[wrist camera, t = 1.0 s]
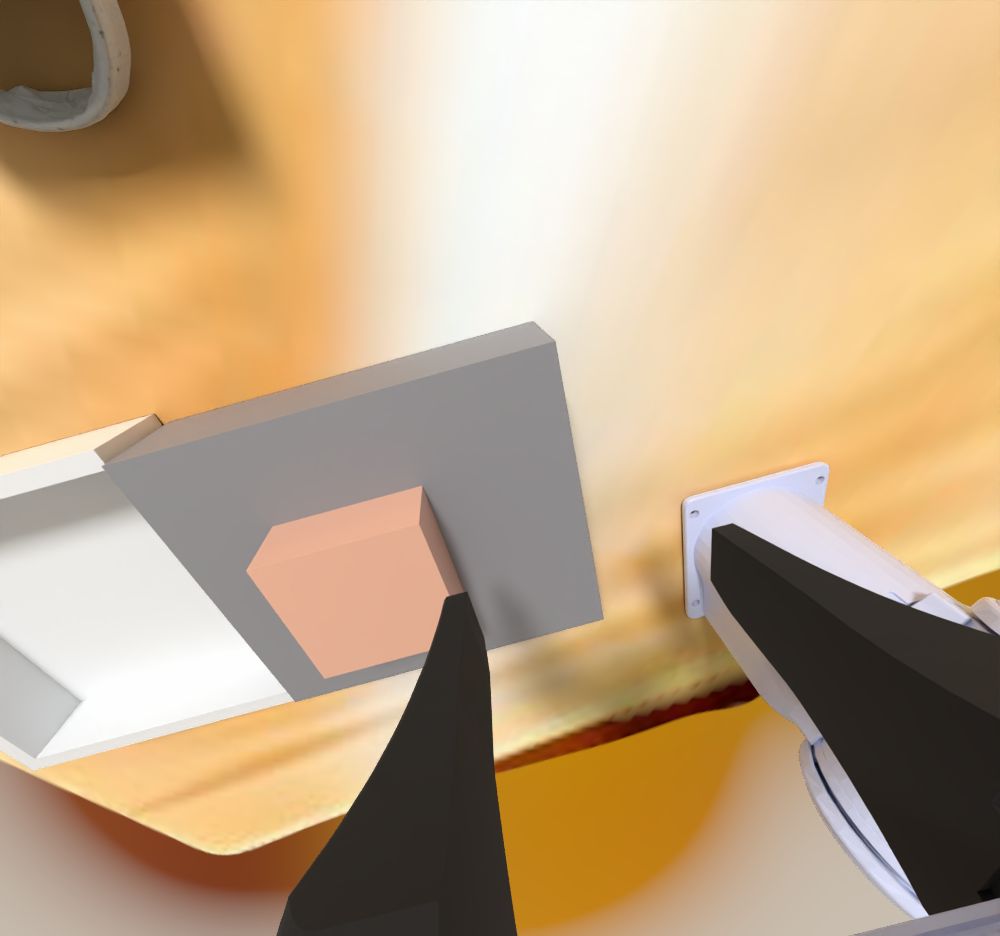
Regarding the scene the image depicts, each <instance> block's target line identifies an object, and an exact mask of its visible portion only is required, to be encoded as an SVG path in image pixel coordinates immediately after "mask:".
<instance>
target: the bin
mask: <svg viewBox="0 0 1000 936" xmlns="http://www.w3.org/2000/svg"><path fill="white" fill-rule="evenodd" d="M160 427H162V424H161V423H160V421H159V420H158V418H157V417H156V416H155V414H151V415H147V416H143V417H140V418H136V419H133V420H129V421H125V422H122V423H118V424H114V425H111V426H107V427H104V428H100V429H96V430H93V431H89V432H86V433H82V434H78V435H75V436H71V437H68V438H64V439H60V440H57V441H53V442H50V443H46V444H42V445H39V446H35V447H32V448H28V449H24V450H21V451H17V452H14V453H10V454H6V455H3V456H0V750H1V751H2V752H4V753H5V754H7V755H9V756H10V757H12V758H13V759H15V760H16V761H18V762H20V763H21V764H23V765H24V766H26V767H27V768H29V769H31V770H32V771H34V770H37V769H41V768H45V767H49V766H52V765H56V764H60V763H63V762H67V761H71V760H75V759H78V758H82V757H86V756H90V755H93V754H97V753H101V752H104V751H108V750H112V749H116V748H119V747H123V746H127V745H131V744H134V743H138V742H142V741H145V740H149V739H153V738H157V737H160V736H164V735H168V734H172V733H175V732H179V731H183V730H186V729H190V728H194V727H198V726H201V725H205V724H209V723H213V722H216V721H220V720H224V719H227V718H231V717H235V716H239V715H242V714H246V713H250V712H254V711H257V710H261V709H265V708H268V707H272V706H276V705H280V704H283V703H287V702H291V701H294V700H293V699H292V697H291V696H290V695H289V694H288V693H287V691H286V690H285V689H284V688H283V687H282V685H281V684H280V683H279V682H278V680H277V679H276V678H275V677H274V676H273V674H272V673H271V672H270V671H269V669H268V668H267V667H266V666H265V665H264V663H263V662H262V661H261V660H260V659H259V657H258V656H257V655H256V654H255V652H254V651H253V650H252V649H251V648H250V646H249V645H248V644H247V643H246V642H245V640H244V639H243V638H242V637H241V635H240V634H239V633H238V632H237V631H236V629H235V628H234V627H233V626H232V625H231V623H230V622H229V621H228V620H227V618H226V617H225V616H224V615H223V614H222V612H221V611H220V610H219V609H218V608H217V606H216V605H215V604H214V603H213V601H212V600H211V599H210V598H209V597H208V595H207V594H206V593H205V592H204V591H203V589H202V588H201V587H200V586H199V584H198V583H197V582H196V581H195V580H194V578H193V577H192V576H191V575H190V574H189V572H188V571H187V570H186V569H185V567H184V566H183V565H182V564H181V563H180V561H179V560H178V559H177V558H176V557H175V555H174V554H173V553H172V552H171V550H170V549H169V548H168V547H167V546H166V544H165V543H164V542H163V541H162V540H161V538H160V537H159V536H158V535H157V533H156V532H155V531H154V530H153V529H152V527H151V526H150V525H149V524H148V523H147V521H146V520H145V519H144V518H143V516H142V515H141V514H140V513H139V512H138V510H137V509H136V508H135V507H134V506H133V504H132V503H131V502H130V501H129V499H128V498H127V497H126V496H125V495H124V493H123V492H122V491H121V490H120V488H119V487H118V486H117V485H116V484H115V482H114V481H113V480H112V479H111V478H110V476H109V475H108V474H107V473H106V471H105V470H104V469H103V468H102V467H101V466H103V465H104V464H106V463H107V462H109V461H110V460H112V459H113V458H115V457H116V456H118V455H119V454H121V453H123V452H124V451H126V450H127V449H129V448H130V447H132V446H133V445H135V444H136V443H138V442H139V441H141V440H142V439H144V438H145V437H147V436H148V435H150V434H151V433H153V432H154V431H156V430H157V429H159V428H160Z"/></svg>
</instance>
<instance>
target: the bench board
mask: <svg viewBox="0 0 1000 936" xmlns="http://www.w3.org/2000/svg"><path fill="white" fill-rule="evenodd" d="M101 467H102V468H103V469H104V470H105V471H106V473H107V474H108V475H109V476H110V478H111V479H112V480H113V481H114V482H115V484H116V485H117V486H118V487H119V488H120V490H121V491H122V492H123V493H124V495H125V496H126V497H127V498H128V499H129V501H130V502H131V503H132V504H133V506H134V507H135V508H136V509H137V510H138V512H139V513H140V514H141V515H142V516H143V518H144V519H145V520H146V521H147V523H148V524H149V525H150V526H151V527H152V529H153V530H154V531H155V532H156V533H157V535H158V536H159V537H160V538H161V540H162V541H163V542H164V543H165V544H166V546H167V547H168V548H169V549H170V550H171V552H172V553H173V554H174V555H175V557H176V558H177V559H178V560H179V561H180V563H181V564H182V565H183V566H184V567H185V569H186V570H187V571H188V572H189V574H190V575H191V576H192V577H193V578H194V580H195V581H196V582H197V583H198V584H199V586H200V587H201V588H202V589H203V591H204V592H205V593H206V594H207V595H208V597H209V598H210V599H211V600H212V601H213V603H214V604H215V605H216V606H217V608H218V609H219V610H220V611H221V612H222V614H223V615H224V616H225V617H226V618H227V620H228V621H229V622H230V623H231V625H232V626H233V627H234V628H235V629H236V631H237V632H238V633H239V634H240V635H241V637H242V638H243V639H244V640H245V642H246V643H247V644H248V645H249V646H250V648H251V649H252V650H253V651H254V652H255V654H256V655H257V656H258V657H259V659H260V660H261V661H262V662H263V663H264V665H265V666H266V667H267V668H268V669H269V671H270V672H271V673H272V674H273V676H274V677H275V678H276V679H277V680H278V682H279V683H280V684H281V685H282V687H283V688H284V689H285V690H286V691H287V693H288V694H289V695H290V696H291V697H292V699H293V700H294V701H295V702H297V701H301V700H305V699H308V698H312V697H316V696H319V695H323V694H327V693H331V692H334V691H338V690H342V689H346V688H349V687H353V686H357V685H360V684H364V683H368V682H372V681H375V680H379V679H383V678H387V677H390V676H394V675H398V674H401V673H405V672H409V671H413V670H416V669H420V668H423V666H424V663H425V661H426V658H427V655H428V652H429V651H427V652H423V653H419V654H415V655H412V656H408V657H404V658H400V659H397V660H393V661H389V662H386V663H382V664H378V665H374V666H371V667H367V668H363V669H360V670H356V671H352V672H348V673H345V674H341V675H337V676H333V677H330V678H326V679H324V677H323V676H322V675H321V673H320V672H319V670H318V669H317V668H316V666H315V665H314V664H313V662H312V661H311V660H310V658H309V657H308V655H307V654H306V653H305V651H304V650H303V649H302V647H301V646H300V644H299V643H298V642H297V640H296V639H295V638H294V636H293V635H292V634H291V632H290V631H289V629H288V628H287V627H286V625H285V624H284V623H283V621H282V620H281V618H280V617H279V616H278V614H277V613H276V612H275V610H274V609H273V608H272V606H271V605H270V603H269V602H268V601H267V599H266V598H265V597H264V595H263V594H262V592H261V591H260V590H259V588H258V587H257V586H256V584H255V583H254V581H253V580H252V579H251V577H250V576H249V575H248V573H247V572H246V570H247V568H248V567H249V565H250V563H251V562H252V560H253V558H254V557H255V555H256V553H257V552H258V550H259V548H260V547H261V545H262V543H263V542H264V540H265V538H266V537H267V535H268V533H269V532H270V530H271V528H272V527H273V526H277V525H280V524H284V523H288V522H291V521H295V520H299V519H302V518H306V517H310V516H313V515H317V514H321V513H324V512H328V511H332V510H335V509H339V508H342V507H346V506H350V505H353V504H357V503H361V502H364V501H368V500H372V499H375V498H379V497H383V496H386V495H390V494H394V493H397V492H401V491H405V490H408V489H412V488H416V487H419V486H423V489H424V491H425V494H426V496H427V499H428V502H429V504H430V507H431V509H432V512H433V514H434V517H435V519H436V522H437V524H438V527H439V529H440V532H441V534H442V537H443V539H444V542H445V544H446V547H447V549H448V552H449V555H450V557H451V560H452V562H453V565H454V567H455V570H456V572H457V575H458V577H459V580H460V582H461V585H462V587H463V590H464V592H468V595H469V597H470V600H471V603H472V606H473V608H474V611H475V614H476V616H477V619H478V622H479V625H480V627H481V630H482V633H483V635H484V638H485V645H486V651H487V650H491V649H495V648H498V647H502V646H506V645H510V644H513V643H517V642H521V641H524V640H528V639H532V638H536V637H539V636H543V635H547V634H551V633H554V632H558V631H562V630H565V629H569V628H573V627H577V626H580V625H584V624H588V623H592V622H595V621H599V620H603V619H604V617H603V612H602V606H601V600H600V594H599V589H598V583H597V577H596V571H595V566H594V560H593V554H592V549H591V543H590V537H589V531H588V526H587V520H586V514H585V508H584V503H583V497H582V491H581V485H580V480H579V474H578V468H577V462H576V457H575V451H574V445H573V440H572V434H571V428H570V422H569V417H568V411H567V405H566V399H565V394H564V388H563V382H562V376H561V371H560V365H559V359H558V353H557V348H556V342H555V340H554V339H553V338H551V337H550V336H549V335H548V334H547V333H546V332H545V331H544V330H542V329H541V328H540V327H539V326H538V325H537V324H536V323H535V322H533V321H532V322H528V323H525V324H521V325H518V326H514V327H510V328H507V329H503V330H500V331H496V332H492V333H489V334H485V335H482V336H478V337H474V338H471V339H467V340H463V341H460V342H456V343H453V344H449V345H445V346H442V347H438V348H435V349H431V350H427V351H424V352H420V353H417V354H413V355H409V356H406V357H402V358H399V359H395V360H391V361H388V362H384V363H380V364H377V365H373V366H370V367H366V368H362V369H359V370H355V371H352V372H348V373H344V374H341V375H337V376H334V377H330V378H326V379H323V380H319V381H316V382H312V383H308V384H305V385H301V386H298V387H294V388H290V389H287V390H283V391H279V392H276V393H272V394H269V395H265V396H261V397H258V398H254V399H251V400H247V401H243V402H240V403H236V404H233V405H229V406H225V407H222V408H218V409H215V410H211V411H207V412H204V413H200V414H197V415H193V416H189V417H186V418H182V419H178V420H175V421H171V422H168V423H167V424H165V425H163V426H162V427H160V428H159V429H157V430H156V431H154V432H153V433H151V434H150V435H148V436H147V437H145V438H144V439H142V440H141V441H139V442H138V443H136V444H135V445H133V446H132V447H130V448H129V449H127V450H126V451H124V452H123V453H121V454H119V455H118V456H116V457H115V458H113V459H112V460H110V461H109V462H107V463H106V464H104V465H103V466H101Z"/></svg>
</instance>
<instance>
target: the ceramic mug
mask: <svg viewBox="0 0 1000 936" xmlns="http://www.w3.org/2000/svg"><path fill="white" fill-rule="evenodd" d="M79 2H80V5H81V7H82V10H83V13H84V16H85V18H86V21H87V24H88V27H89V29H90V32H91V37H92V41H93V63H94V71H93V72H92V87H86V88H81V89H75V90H69V91H37V90H35V89H32V88H29V87H27V86H24V85H20V86H17V87H13V88H12V89H10V90H9V91H6V90H4V89H1V88H0V122H1V123H4V124H7V125H9V126H13V127H18V128H22V129H28V130H34V131H39V132H65V131H71V130H77V129H83V128H86V127H88V126H90V125H93V124H95V123H97V122H99V121H101V120H103V119H104V118H105V117H106V116H107V115H108V114H109V113H110V112H111V111H112V110H114V109H115V108H116V107H117V106H118V104H119V103H120V102H121V101H122V99H123V98H124V97H125V95H126V93H127V90H128V88H129V81H130V68H131V49H130V42H129V36H128V33H127V29H126V25H125V22H124V18H123V15H122V13H121V10H120V8H119V5H118V2H117V0H79Z"/></svg>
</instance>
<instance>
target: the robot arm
mask: <svg viewBox="0 0 1000 936" xmlns="http://www.w3.org/2000/svg"><path fill="white" fill-rule="evenodd" d="M828 476H829V466H828V465H827V464H825V463H823V462H815V463H811V464H807V465H804V466H800V467H796V468H793V469H789V470H785V471H782V472H778V473H774V474H771V475H767V476H763V477H760V478H756V479H752V480H748V481H745V482H741V483H737V484H734V485H730V486H726V487H723V488H719V489H715V490H712V491H708V492H704V493H700V494H697V495H693V496H690V497H688V498H686V499H685V500H684V502H683V504H682V519H683V549H684V579H685V609H686V614H687V615H688V617H689V618H691V619H696V618H700V617H704V616H705V617H706V618H707V620H708V621H709V623H710V624H711V626H712V627H713V628H714V630H715V631H716V633H717V634H718V636H719V637H720V638H721V640H722V641H723V643H724V644H725V646H726V647H727V648H728V650H729V651H730V653H731V654H732V656H733V657H734V659H735V660H736V661H737V663H738V664H739V666H740V667H741V669H742V670H743V671H744V673H745V674H746V676H747V677H748V679H749V680H750V681H751V683H752V684H753V686H754V687H755V689H756V690H757V692H758V693H759V694H760V695H761V697H762V698H763V699H764V700H765V701H766V702H767V703H768V704H769V705H770V706H771V707H772V708H773V709H774V710H775V711H777V712H778V713H779V714H780V715H782V716H783V717H785V718H786V719H788V720H789V721H791V722H793V723H795V724H796V725H797V726H798V727H799V729H800V730H801V732H802V733H803V734H804V736H805V737H806V738H807V739H806V740H804V741H803V743H802V744H801V746H800V749H799V761H800V766H801V769H802V773H803V776H804V779H805V782H806V786H807V789H808V791H809V794H810V796H811V799H812V801H813V803H814V805H815V807H816V809H817V811H818V813H819V814H820V816H821V818H822V820H823V821H824V823H825V825H826V826H827V828H828V829H829V831H830V832H831V834H832V835H833V837H834V838H835V839H836V841H837V842H838V844H839V845H840V846H841V848H842V849H843V850H844V852H845V853H846V854H847V855H848V856H849V858H850V859H851V860H852V862H853V863H854V864H855V865H856V866H857V867H858V869H859V870H860V871H861V872H862V873H863V874H864V875H865V876H866V877H867V879H868V880H869V881H870V882H871V883H872V884H873V885H874V886H875V887H876V888H877V889H878V890H879V891H880V892H881V893H882V894H883V895H884V896H886V897H887V898H888V899H889V900H890V901H891V902H892V903H893V904H895V905H896V906H897V907H898V908H899V909H900V910H902V911H903V912H904V913H905V914H907V915H908V916H910V917H911V918H912V919H914V920H910V921H907V922H902V923H898V924H895V925H891V926H887V927H883V928H879V929H875V930H871V931H867V932H863V933H859V934H855V935H851V936H1000V600H996V599H994V598H990V597H984V598H981V599H980V600H978V601H977V602H976V603H975V604H973V605H972V606H971V607H969V606H967V605H964V604H962V603H960V602H958V601H957V600H956V599H954V598H953V597H951V596H950V595H948V594H947V593H946V592H944V591H943V590H941V589H940V588H938V587H937V586H936V585H934V584H933V583H931V582H930V581H928V580H927V579H926V578H924V577H923V576H921V575H920V574H918V573H917V572H916V571H914V570H913V569H911V568H910V567H908V566H907V565H906V564H904V563H903V562H901V561H900V560H898V559H897V558H896V557H894V556H893V555H891V554H890V553H888V552H887V551H886V550H884V549H883V548H881V547H880V546H878V545H877V544H876V543H874V542H873V541H871V540H870V539H868V538H867V537H866V536H864V535H863V534H861V533H860V532H858V531H857V530H855V529H854V528H853V527H851V526H850V525H848V524H847V523H845V522H844V521H843V520H841V519H840V518H838V517H837V516H835V515H834V514H833V513H831V512H830V511H828V510H827V509H825V508H824V507H823V505H824V499H825V493H826V487H827V482H828ZM694 510H695V511H694ZM692 511H694V513H692V514H690V513H691V512H692ZM277 936H517V931H516V924H515V918H514V911H513V905H512V897H511V891H510V884H509V877H508V870H507V863H506V856H505V849H504V841H503V834H502V826H501V820H500V811H499V803H498V796H497V788H496V780H495V769H494V756H493V733H492V709H491V687H490V671H489V665H488V658H487V651H486V645H485V638H484V635H483V633H482V630H481V627H480V625H479V622H478V619H477V616H476V614H475V611H474V608H473V606H472V603H471V600H470V597H469V595H468V592H463V593H459V594H455V595H451V596H447V597H446V598H445V600H444V603H443V607H442V611H441V615H440V618H439V622H438V625H437V628H436V632H435V635H434V638H433V641H432V644H431V647H430V649H429V652H428V655H427V658H426V661H425V663H424V666H423V669H422V671H421V674H420V676H419V679H418V681H417V683H416V686H415V688H414V691H413V693H412V695H411V698H410V700H409V702H408V705H407V707H406V709H405V711H404V713H403V715H402V718H401V720H400V722H399V724H398V726H397V728H396V730H395V732H394V734H393V736H392V738H391V740H390V741H389V743H388V745H387V747H386V749H385V751H384V752H383V754H382V756H381V758H380V760H379V762H378V763H377V765H376V767H375V769H374V770H373V772H372V774H371V776H370V777H369V779H368V781H367V782H366V784H365V786H364V787H363V789H362V791H361V792H360V794H359V795H358V797H357V798H356V800H355V801H354V803H353V805H352V806H351V808H350V809H349V811H348V812H347V814H346V816H345V817H344V819H343V820H342V822H341V823H340V825H339V827H338V828H337V830H336V831H335V832H334V834H333V835H332V837H331V838H330V840H329V841H328V843H327V844H326V845H325V847H324V848H323V850H322V851H321V853H320V854H319V855H318V857H317V858H316V860H315V861H314V862H313V864H312V865H311V866H310V868H309V869H308V871H307V872H306V874H305V875H304V876H303V877H302V879H301V880H300V882H299V883H298V884H297V886H296V887H295V888H294V890H293V891H292V893H291V894H290V895H289V897H288V901H287V905H286V907H285V911H284V914H283V917H282V919H281V922H280V926H279V929H278V932H277Z"/></svg>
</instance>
